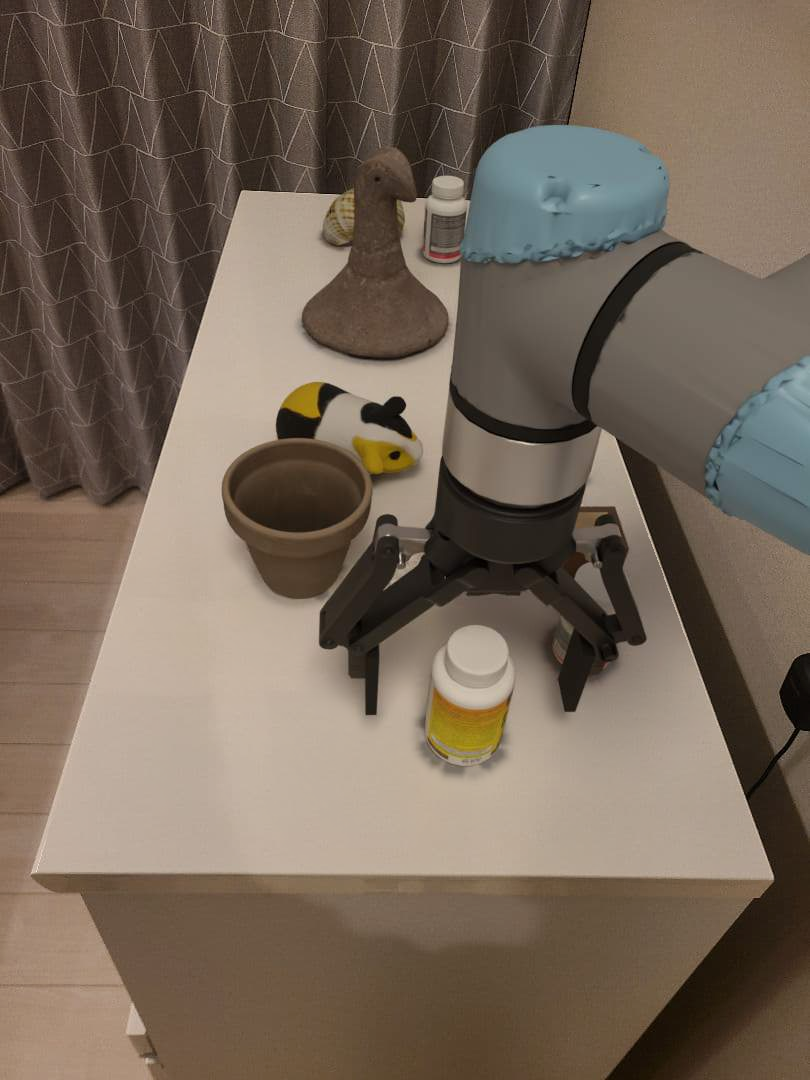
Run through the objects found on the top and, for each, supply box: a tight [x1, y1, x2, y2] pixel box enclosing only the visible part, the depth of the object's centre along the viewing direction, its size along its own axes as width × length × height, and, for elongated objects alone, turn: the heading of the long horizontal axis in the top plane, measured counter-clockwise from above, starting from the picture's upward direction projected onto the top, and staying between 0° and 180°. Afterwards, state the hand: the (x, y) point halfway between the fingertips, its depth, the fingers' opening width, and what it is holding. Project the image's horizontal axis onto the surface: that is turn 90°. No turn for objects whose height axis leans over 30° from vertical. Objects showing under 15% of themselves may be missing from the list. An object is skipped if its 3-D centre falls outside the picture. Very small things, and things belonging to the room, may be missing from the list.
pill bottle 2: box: [551, 562, 631, 670], centre depth 63 cm, size 5×5×8 cm
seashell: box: [322, 187, 406, 246], centre depth 112 cm, size 10×10×10 cm
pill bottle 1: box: [422, 175, 468, 264], centre depth 108 cm, size 5×5×10 cm
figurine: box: [275, 381, 424, 475], centre depth 78 cm, size 8×15×8 cm, turn 64°
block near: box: [562, 505, 630, 579], centre depth 70 cm, size 5×5×5 cm
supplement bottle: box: [424, 624, 517, 767], centre depth 56 cm, size 6×6×10 cm
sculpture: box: [301, 145, 449, 359], centre depth 92 cm, size 17×17×20 cm
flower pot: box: [221, 438, 374, 599], centre depth 67 cm, size 12×11×10 cm
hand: (469, 697), depth 57 cm, fingers open, 13 cm apart
